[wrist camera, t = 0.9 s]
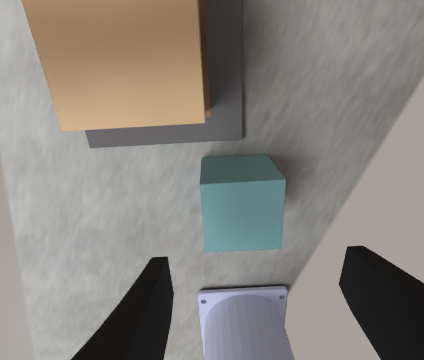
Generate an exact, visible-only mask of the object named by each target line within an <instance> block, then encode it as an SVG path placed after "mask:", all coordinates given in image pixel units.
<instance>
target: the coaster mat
mask: <svg viewBox="0 0 424 360" xmlns="http://www.w3.org/2000/svg"><path fill="white" fill-rule="evenodd" d="M204 5H205V23H206V41H207V60H208V78H209V96H210V115H211V117H205V123H198V124H180V125H163V126H146V127H128V128H111V129H94V130H85V132H86V135H87V139H88V143H89V147H90V148H102V147H119V146H136V145H154V144H171V143H189V142H206V141H224V140H241V139H242V0H204Z"/></svg>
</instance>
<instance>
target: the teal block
mask: <svg viewBox="0 0 424 360" xmlns="http://www.w3.org/2000/svg"><path fill="white" fill-rule="evenodd" d="M285 187H286V179H285V178H284V176H283V175H282V174H281V172H280V171H279V170H278V168H277V167H276V166H275V165H274V163H273V162H272V161H271V159H270V158H269V157H268V155H267V154H260V155H243V156H225V157H208V158H202V161H201V176H200V191H201V204H202V216H203V228H204V240H205V253H208V252H226V251H244V250H262V249H280V248H281V238H282V225H283V212H284V200H285Z"/></svg>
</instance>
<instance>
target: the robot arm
mask: <svg viewBox="0 0 424 360" xmlns="http://www.w3.org/2000/svg"><path fill="white" fill-rule="evenodd" d="M339 286H340V288H341V290H342V293H343V295H344V297H345V299H346V301H347V303H348V305H349V307H350V310H351V311H352V313H353V315H354V316H355V318H356V320H357V321H358V323H359V325H360V326H361V328H362V329H363V331H364V333H365V334H366V336H367V338H368V339H369V341H370V343H371V344H372V346H373V347H374V349H375V350H376V352H377V354H378V356H379V357H380V359H381V360H424V283H422V282H421V281H419V280H418V279H416V278H414V277H413V276H411V275H410V274H408V273H406V272H405V271H403V270H402V269H400V268H398V267H397V266H395V265H394V264H392V263H390V262H389V261H387V260H386V259H384V258H382V257H381V256H379V255H378V254H376V253H374V252H373V251H371V250H369V249H367V248H366V247H364V246H349V247H347V250H346V255H345V260H344V264H343V268H342V273H341V277H340V282H339ZM173 295H174V293H173V287H172V281H171V275H170V269H169V263H168V257H152V258H151V259H150V261H149V262H148V264H147V265H146V267H145V268H144V270H143V271H142V273H141V274H140V275H139V277H138V278H137V280H136V281H135V283H134V284H133V285H132V287H131V288H130V289H129V291H128V292H127V293H126V295H125V296H124V297H123V299H122V300H121V301H120V303H119V304H118V305H117V307H116V308H115V309H114V310H113V312H112V313H111V314H110V315H109V317H108V318H107V319H106V320H105V321H104V323H103V324H102V325H101V326H100V328H99V329H98V330H97V331H96V332H95V333H94V335H93V336H92V337H91V338H90V339H89V340H88V341H87V342H86V344H85V345H84V346H83V347H82V348H81V349H80V350H79V351H78V352H77V353H76V354H75V356H74V357H73V358H72V359H71V360H163V359H164V354H165V349H166V344H167V339H168V334H169V329H170V324H171V317H172V306H173ZM281 295H282V296H281ZM287 296H288V291H287V288H286V287H284V286H272V287H254V288H236V289H218V290H202V291H200V292H199V293H198V305H199V314H200V323H201V332H202V342H203V351H204V360H295V359H294V356H293V353H292V350H291V347H290V343H289V340H288V337H287V334H286V330H285V327H284V324H285V314H286V304H287Z"/></svg>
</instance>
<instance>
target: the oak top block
mask: <svg viewBox="0 0 424 360" xmlns="http://www.w3.org/2000/svg"><path fill="white" fill-rule="evenodd" d="M22 3H23V7H24V10H25V13H26V16H27V20H28V23H29V26H30V29H31V33H32V36H33V39H34V42H35V46H36V49H37V52H38V55H39V58H40V62H41V65H42V68H43V71H44V75H45V78H46V81H47V84H48V88H49V91H50V94H51V97H52V100H53V104H54V107H55V110H56V113H57V117H58V120H59V123H60V126H61V130H62V131H76V130H94V129H111V128H128V127H146V126H163V125H180V124H198V123H205V99H204V83H203V67H202V51H201V35H200V19H199V3H198V0H22Z"/></svg>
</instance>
